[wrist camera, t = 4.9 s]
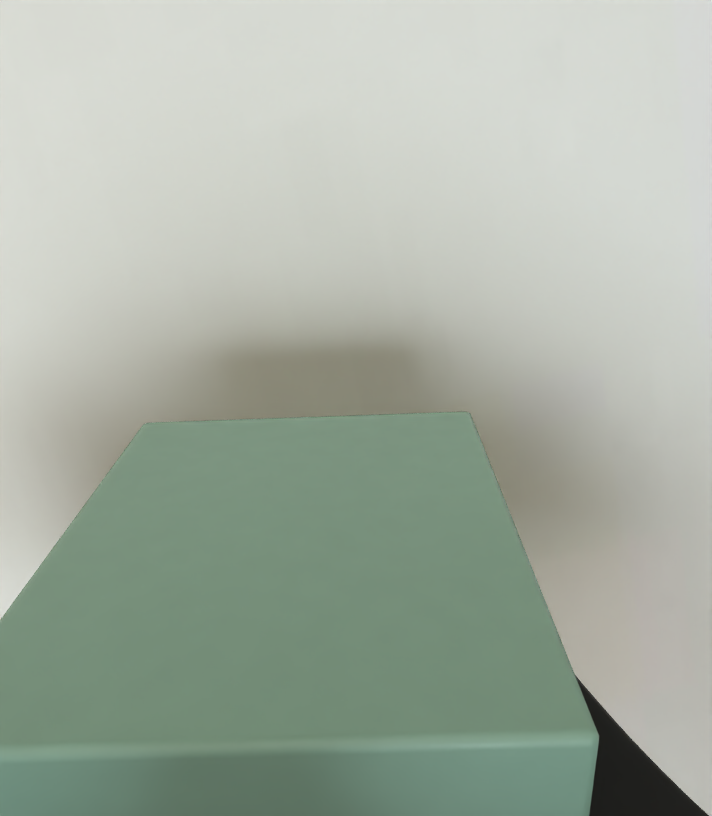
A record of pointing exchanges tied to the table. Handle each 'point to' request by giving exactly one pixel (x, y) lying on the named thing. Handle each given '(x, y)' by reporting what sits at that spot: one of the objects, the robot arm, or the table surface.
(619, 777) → the robot arm
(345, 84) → the table surface
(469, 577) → the tissue box
